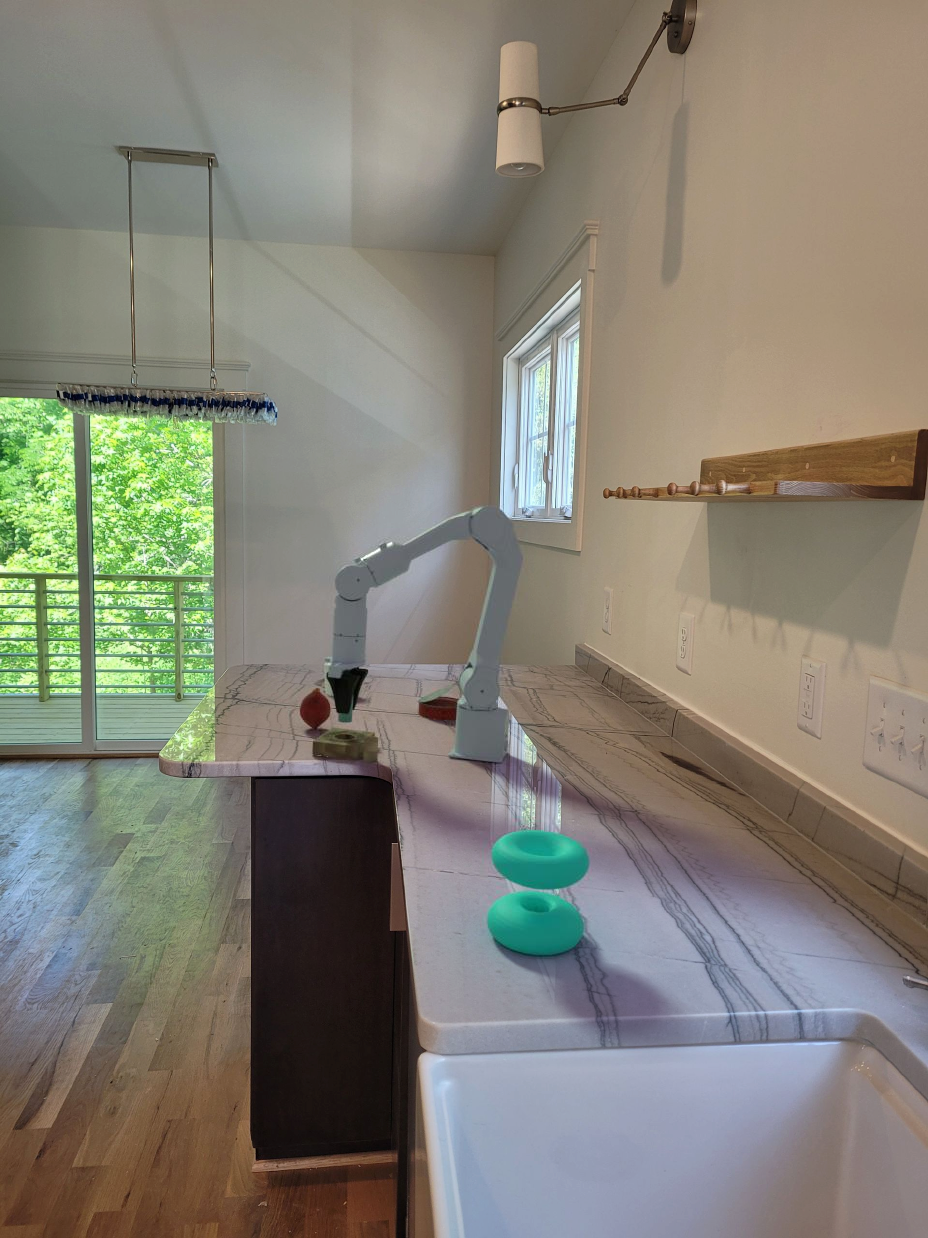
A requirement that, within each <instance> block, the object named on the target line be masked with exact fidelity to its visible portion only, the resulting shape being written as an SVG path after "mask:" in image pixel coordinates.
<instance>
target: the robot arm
mask: <svg viewBox="0 0 928 1238" xmlns="http://www.w3.org/2000/svg"><path fill="white" fill-rule="evenodd" d="M471 538H472V539H473V540H474V541H475V542H476V543H478V544H479V545H481V546H482V547H483V549H484V551H486V553H487V554H488V556H489V558H490V559H491V561H492V562H493V563H492V564H493V565H492V568H491V573H490V576H489V581H488V585H487V590H486V594H485V599H484V602H483V603H484V604H483V606H482V609H481V610H482V611H481V615H480V619H479V624H478V627H477V631H476V636H475V639H474V644H473V648H472V650H471V652H470V655H469V656H468V660H467V663H466V665H465V667H464V668H463V670H461V672H460V673H459V675H458V680H457V684H458V687H459V690H460V691H461V693H462V695H461V697H460V698H458V699H459V700H458V701H457V715H456V720H455V732H454V733H455V734H454V746H453V748H451V750H450V752H449V753H448V757H450V758H454V759H455V758H456V759H465V760H472V761H473V760H474V761H480V762H481V761H483V762H491V763H498V764H499V763H502V762H503V761H504V758H505V756H506V755H507V754H508V747H509V731H510V730H509V728H510V727H509V726H510V710H509V709H508V708H502V707H499V705H498V704H499V703H498V700H499V698H500V694H501V688H500V684H499V675H500V672H501V671H500V669H501V668H500V667H501V665H500V662H501V661H500V659H501V653H502V650H503V649H502V648H503V644H504V641H505V636H506V632H507V628H508V623H509V620H510V615H511V611H512V606H513V603H514V599H515V595H516V592H517V587H518V582H519V579H520V575H521V571H522V566H523V561H524V557H523V553H522V549H521V547H520V544H519V541H518V538H517V535H516V531H515V528H514V523H513V522H512V521H511V519H510V518H509V517H508V516H507V514H506V513H505V512H504V511H503V510H502V509H501V508H499V507H497V506H494V505H479V506H476V507H473V508H472V509H471V510H470V511H469V510H468V511H463V512H461V513H458V514H455V515H453V516H451V517H448V518H447V519H445V520H443V521H441V522H439V523H438V524H436V525H434V526H433V527H430V528H429V529H428V530H426V531H424V532H422V533H421V534H419V535H417V536H415V537H413V538H411V539H410V540H408V541H407V542H405V543H403V544H402V543H399V542H395V541H390V542H389V543H387V542H386V541H383V542H381V543H379V544H378V549H376V550H373V551H372V552H370V553H368V554H366V555H364V556H362V557H361V558H360V556H357V557H355V558H354V563H355V564H353V563H352V564H347V565H343V567H342V568H340V569H339V571H338V572H337V574H336V576H335V579H334V587H335V590H336V592H337V593H336V595H335V598H334V603H335V606H333V622H332V624H333V625H332V645H331V648H332V649H331V656H327V657H325V658H324V663H327V662H330V665H329V670H328V672H327V673H326V678H327V680H328V682H329V684H330V686H331V689H332V692H333V696H332V697H333V700H334V706H335V711H336V713H337V714H338V713H342V714H349V712H350V709H351V704H352V698H353V710H352V711H354V710H355V709H356V707H357V706H356V705H357V702H358V699H359V694H360V691H361V688H362V685H363V683H364V681H365V679H366V678H367V675H368V674H369V669H367V668H361V667H364V666H366V663H367V653H366V645H367V644H366V643H367V642H366V641H367V628H368V627H367V625H368V608H367V594H368V593H369V591H370V588H375V589H378V588H379V587H381V586H383V585H385V584H386V583H388V582H390V581H392V580H393V579H396V578H397V577H399V576H401V575H403V574H405V573H407V572H408V571H409V569H410V565H411V563H412V561H414V560H415V559H417V558H419V557H421V556H423V555H425V554H427V553H429V552H431V551H434V550H435V549H437V548H440V547H441V546H444V545H445V544H447V543H449V542H451V541H471Z"/></svg>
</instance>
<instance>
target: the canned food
mask: <svg viewBox="0 0 928 1238" xmlns="http://www.w3.org/2000/svg"><path fill="white" fill-rule="evenodd" d="M457 684H458V681H456V682H454V683H452V684H450V685H447V686H445V687H443V688H440V689H437V690H436V691H434V692H431V693H429V694H428V695H425V696H423V697H422V698H419V700H418V716H420V717H421V716H422V717H421V718H424V717H425V718H424V719H427V718H429V719H428V720H433V719H436V720H435V721H444V720H450V721H456V715H457V701H458V700H459V699H460V698H456V697H450V696H449V697H448V696H443V695H445V694H446V693H448V692H449V691H450V690H451V689H452V688H453V687H454V686H456V685H457Z"/></svg>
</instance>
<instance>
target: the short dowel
mask: <svg viewBox="0 0 928 1238" xmlns="http://www.w3.org/2000/svg"><path fill="white" fill-rule="evenodd" d="M378 749H379V737H378V736H376V735H375V736H366V737H364V751H363V756H362V762H364V763H367V764H375V763H377V762H378V752H379V750H378Z"/></svg>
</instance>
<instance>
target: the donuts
mask: <svg viewBox="0 0 928 1238" xmlns="http://www.w3.org/2000/svg"><path fill="white" fill-rule="evenodd" d="M491 861H492V864H493V866H494V867H495V869H496V871H497V872H498V873H499V874H500V875H501V876H502V877H503V878H504V879H506V880H507V881H510V882H511V883H514V884H515V885H517V886H521V887H523V888H528V889H533V890H520V891H514V892H511V893H509V894H508V893H507V894H506V895H503V896H502V897H499V898H498V899H497V900H495V901H494V903H493V904H492V905H491V906H490V908H489V910H488V912H487V916H486V917H487V918H486V924H487V928H488V931H489V932H490V935H492V937H493V939H495V940H496V941H497V942H498V943H499V944H500V945H503V946H504V947H506V948H508V949H510V950H513V951H514V952H515V951H516V952H519V953H522V954H527V955H533V956H552V955H557V954H558V955H559V954H562V953H564V952H568V951H569V950H571V949H573V948H574V947H576V946H577V944H578V943H579V942H580V941H581V939H582V938H583V935H584V929H585V924H584V920H583V917H582V915H581V913H580V912H579V910H578V909H577V907H575V906H574V905H573V904H572V903H571V902H569V901H568V900H566V899H564V898H562V897H560V896H558V895H555V894H553V893H550V892H545V891H546V890H547V891H550V890H551V891H552V890H559V889H564V888H568V887H572V886H573V885H575V884H577V883H578V882H580V881H581V880H582V879H583V878H584V877H585V876H586V874H587V872H588V871H589V867H590V858H589V854H588V852H587V850H586V848H584V846H583V845H582V844H581V843H580V842H578V841H577V840H575V839H573V838H572V837H570V836H567V835H564V834H561V833H557V832H553V831H549V830H548V831H547V830H539V829H538V830H537V829H527V830H517V831H513V832H509V833H507V834H505V835H502V836H501V837H500V838H498V839H497V840H496V842H495V843H494V845H493V847H492V850H491ZM539 890H542V891H539ZM543 890H545V891H543Z"/></svg>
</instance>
